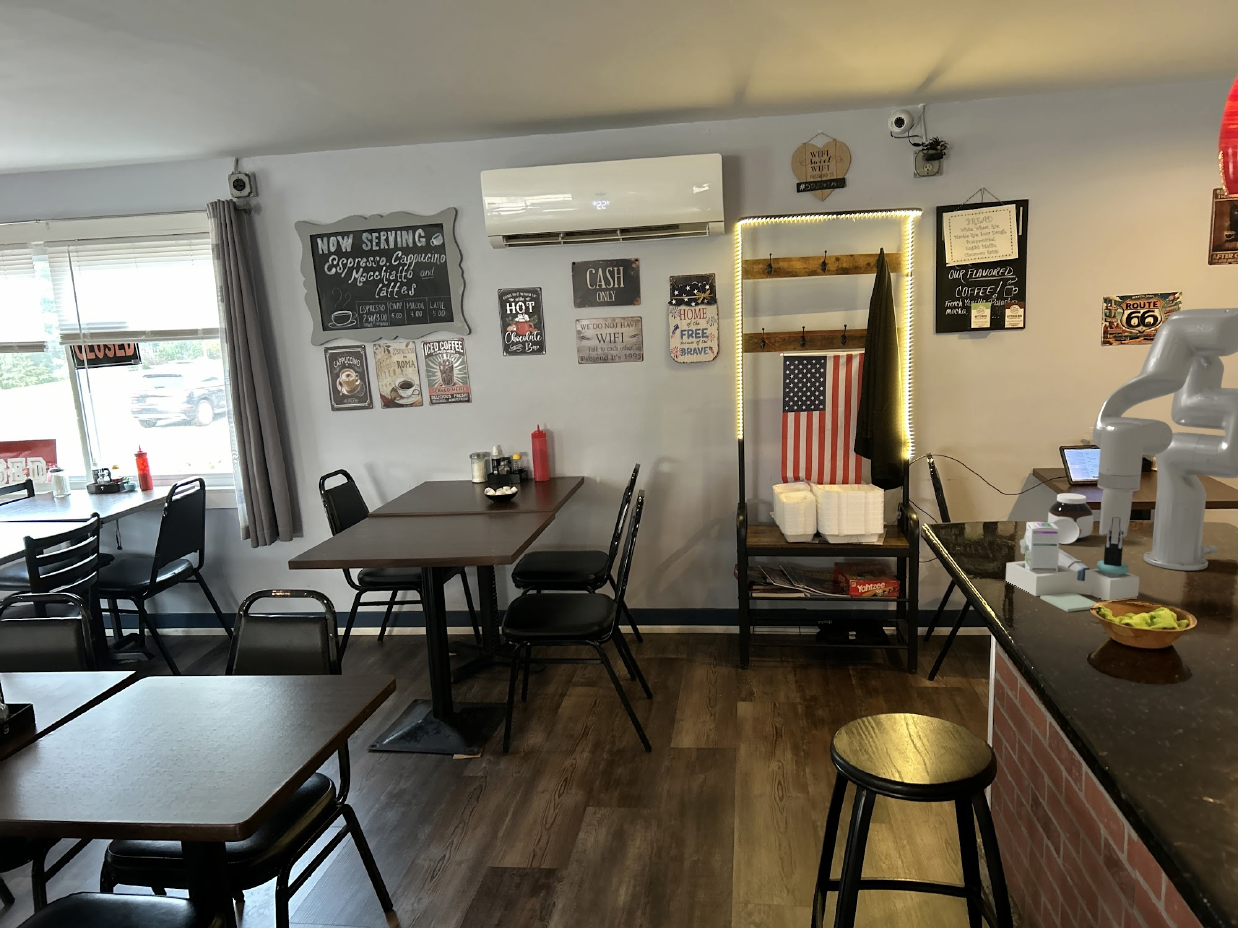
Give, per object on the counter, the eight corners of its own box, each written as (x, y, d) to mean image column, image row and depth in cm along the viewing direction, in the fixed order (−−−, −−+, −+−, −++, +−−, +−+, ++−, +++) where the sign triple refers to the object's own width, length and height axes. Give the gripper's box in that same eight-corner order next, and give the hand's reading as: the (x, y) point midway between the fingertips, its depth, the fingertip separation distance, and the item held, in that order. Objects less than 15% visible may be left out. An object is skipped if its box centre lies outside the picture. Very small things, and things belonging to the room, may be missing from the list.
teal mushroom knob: (1111, 586, 170) (1113, 559, 169) (1132, 594, 165) (1134, 566, 164) (1089, 588, 170) (1091, 561, 168) (1109, 597, 164) (1111, 569, 163)
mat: (1073, 594, 169) (1073, 592, 169) (1101, 607, 161) (1101, 604, 161) (1040, 598, 167) (1040, 595, 167) (1067, 611, 160) (1067, 608, 160)
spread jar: (1081, 533, 212) (1084, 492, 210) (1102, 545, 201) (1105, 502, 199) (1035, 534, 214) (1038, 493, 212) (1054, 546, 203) (1056, 503, 201)
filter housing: (1076, 573, 182) (1078, 553, 181) (1137, 599, 165) (1139, 576, 164) (1005, 581, 179) (1006, 560, 178) (1060, 608, 162) (1061, 585, 161)
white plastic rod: (1075, 567, 175) (1017, 524, 199) (1070, 594, 177) (1014, 548, 201) (1098, 566, 175) (1037, 523, 199) (1093, 593, 177) (1034, 547, 201)
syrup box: (1057, 591, 171) (1061, 528, 168) (1028, 590, 173) (1031, 527, 170) (1050, 582, 176) (1054, 521, 174) (1022, 581, 178) (1025, 520, 175)
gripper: (1098, 473, 171) (1092, 553, 174) (1097, 486, 158) (1090, 572, 162) (1139, 475, 167) (1132, 557, 170) (1141, 489, 154) (1133, 577, 158)
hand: (1112, 564), depth 166 cm, fingers closed
